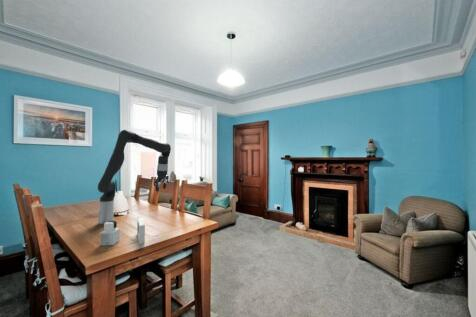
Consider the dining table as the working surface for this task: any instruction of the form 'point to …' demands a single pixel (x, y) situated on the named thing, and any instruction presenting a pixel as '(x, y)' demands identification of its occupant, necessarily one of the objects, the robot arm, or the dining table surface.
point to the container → (110, 233)
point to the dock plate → (141, 230)
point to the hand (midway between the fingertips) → (160, 189)
